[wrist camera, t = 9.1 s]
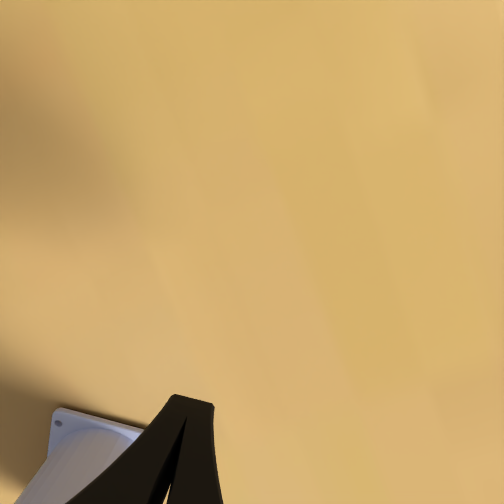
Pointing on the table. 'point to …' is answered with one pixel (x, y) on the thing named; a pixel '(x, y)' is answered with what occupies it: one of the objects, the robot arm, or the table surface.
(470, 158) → the table surface
